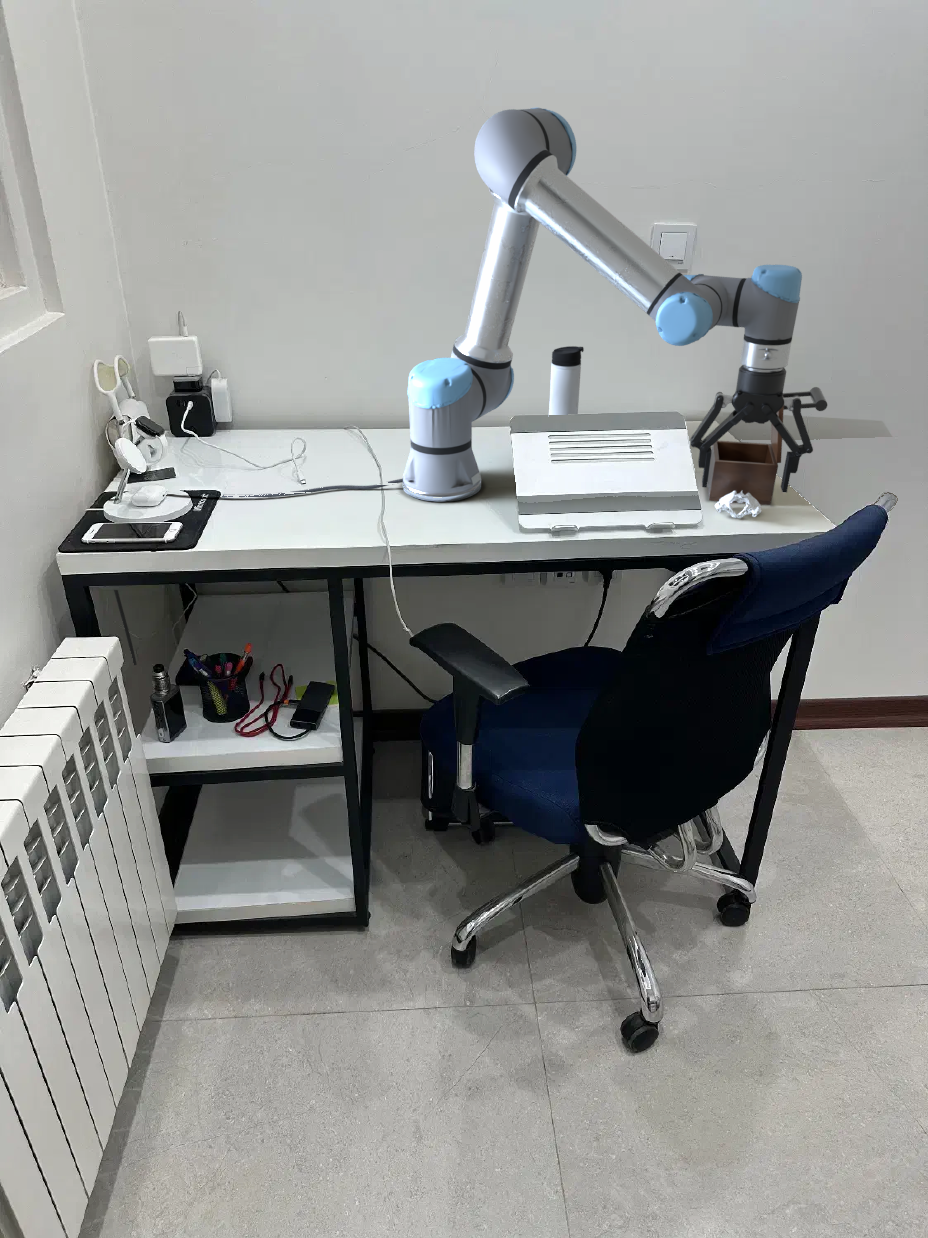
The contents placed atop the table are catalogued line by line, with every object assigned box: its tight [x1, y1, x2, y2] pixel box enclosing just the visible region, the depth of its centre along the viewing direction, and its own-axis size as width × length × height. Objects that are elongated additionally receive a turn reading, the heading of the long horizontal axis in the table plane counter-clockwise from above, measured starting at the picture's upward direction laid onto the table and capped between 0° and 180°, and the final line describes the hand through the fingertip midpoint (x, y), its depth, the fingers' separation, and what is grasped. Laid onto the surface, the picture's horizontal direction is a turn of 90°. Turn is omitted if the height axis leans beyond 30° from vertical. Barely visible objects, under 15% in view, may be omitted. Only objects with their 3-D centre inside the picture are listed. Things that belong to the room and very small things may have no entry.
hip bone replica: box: [714, 491, 762, 519], centre depth 155 cm, size 8×4×7 cm
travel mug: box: [548, 345, 585, 416], centre depth 186 cm, size 6×7×20 cm
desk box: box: [707, 440, 779, 506], centre depth 164 cm, size 11×12×8 cm
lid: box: [770, 386, 828, 464], centre depth 157 cm, size 12×12×8 cm
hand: (743, 487), depth 153 cm, fingers open, 13 cm apart
